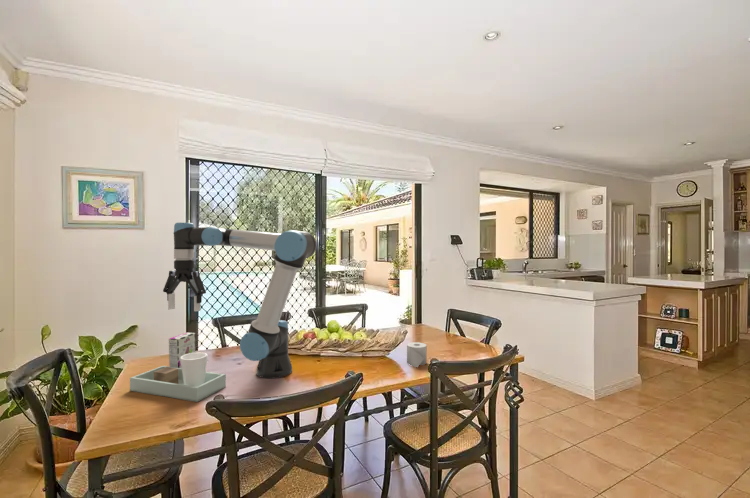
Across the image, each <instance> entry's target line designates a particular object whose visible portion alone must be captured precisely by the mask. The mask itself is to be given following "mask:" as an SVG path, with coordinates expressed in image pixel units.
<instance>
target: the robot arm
mask: <svg viewBox="0 0 750 498" xmlns="http://www.w3.org/2000/svg"><path fill="white" fill-rule="evenodd" d="M173 225H174V226H173V232H172V233H173V246H174V247H173V259H175V260H174V261H173V269H174V270H173V269H172V270H169V271H168V276H167V278H166V279H167V280H166V282H165V284H164V287H163V289H162V292H163V293H166V295H167V296H166V297H167V299H166V300H167V303H168V304H167V306H168V310H174V309H176V293H175V291H176V289H177V288H178V286H179V285H180V283H182V282H183V283H187V284H188V285H189V287H190V288H191V290H192V291H193V293H194V294H195V295H193V312H199V311H200V312H201V310H202V309H201V307H202V306H201V303H202V300H203V299H202V298H203V295H204V294H206V293H207V291H206V287H205V286H204V283H203V281H202V278H201V276H200V271H199V270H198V271H194V270H193V269H194V268H195V260H194V259H195V246H204V247H205V246H206V247H208V246H209V247H211V246H213V247H214V246H223V247H224V246H225V247H235V248H237V247H238V248H246V249H247V248H248V249H256V250H257V249H258V250H263V251H264V250H265V251H266V250H267V251H274V252H275V255H274V258H273V260H274V262H275V267H274V269H273V273H272V274H271V275H272V276H271V278H270V281H269V284H268V286H267V289H266V292H265V295H264V298H263V301H262V303H261V307H260V309H259V312H258V315H257V317H256V319H254V320H252V321H251V322H250V326H249V329H248V331H247V333H246V332H245V334H243V336H242V337H241V338H240V342H239V350H240V351H241V353H242V355H243V357H244V358H245V359H247V360H250V361H252V362H258V363H257V366H256V375H257V377H260V378H263V379H277V378H282V377H286V376H288V375H291V373H292V371H293V366H292V361H291V358H290V356H289V323H288V321H286V320H282V319H281V318H282V314H283V311H284V309H285V306H286V302H287V300H288V298H289V295H290V292H291V289H292V287H293V283H294V281H295V279H296V278H295V277H296V275H297V272H298V271H300V270H302V269H303V267H304V264H305V261H306V259H309V258H310V257H312V256H313V255H314V254H315V252H316V249H317V240H316V238H315V237H314V236H313V234H311V233H310V232H309V231H308V232H307V231H305V230H304V231H302V230H296V229H291V230H290V229H289V230H286V231H283V232H281V233H276V232H262V231H253V230H244V229H243V230H242V229H232V228H231V229H230V228H222V227H221V228H219V227H213V226H207V227H202V226H201V227H195V224H194V223H193V222H175V223H174V224H173Z"/></svg>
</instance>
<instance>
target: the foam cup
mask: <svg viewBox="0 0 750 498" xmlns="http://www.w3.org/2000/svg"><path fill="white" fill-rule="evenodd" d="M208 356H209V355H208V353H206V352H198V351H196V353H189V354H185V355H183V356H181V357H180V364H181V367H182V373H183V380H184V385H188V386H195V387H198V386H200V385H202V384H204V381H205V373H206V372H207V364H208V361H209V360H208Z"/></svg>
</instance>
